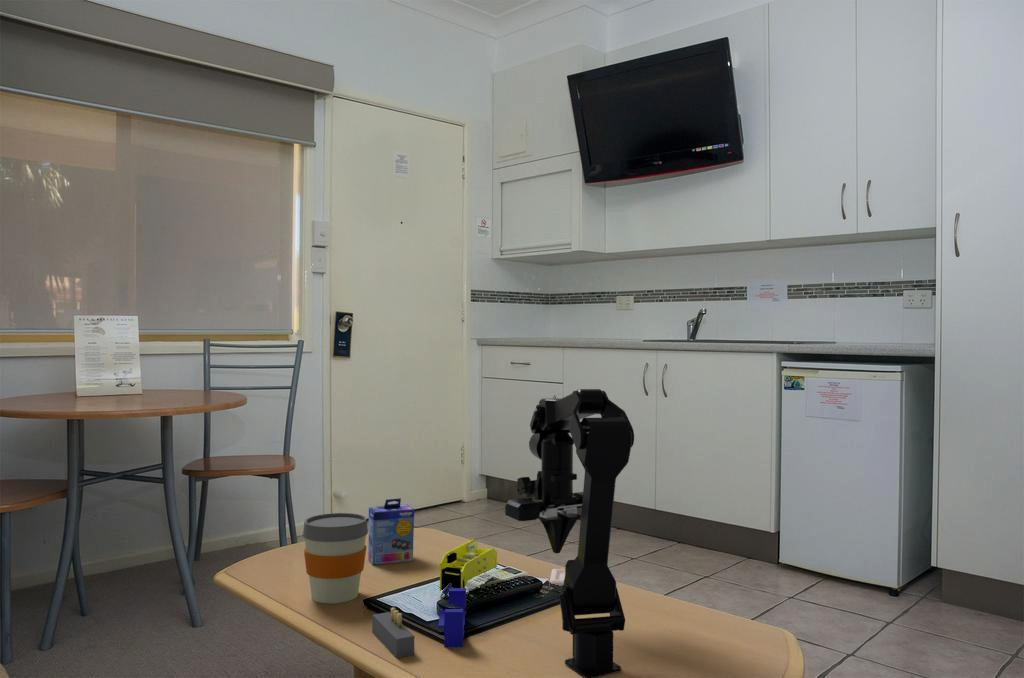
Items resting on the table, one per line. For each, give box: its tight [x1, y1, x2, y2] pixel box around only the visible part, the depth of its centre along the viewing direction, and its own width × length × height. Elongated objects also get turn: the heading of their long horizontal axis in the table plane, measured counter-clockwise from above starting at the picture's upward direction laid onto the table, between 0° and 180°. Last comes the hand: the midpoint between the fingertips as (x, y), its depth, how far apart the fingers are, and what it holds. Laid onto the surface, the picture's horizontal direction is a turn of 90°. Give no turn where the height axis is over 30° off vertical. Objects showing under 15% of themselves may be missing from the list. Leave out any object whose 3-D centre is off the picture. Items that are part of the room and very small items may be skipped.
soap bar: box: [549, 568, 565, 586], centre depth 155 cm, size 5×9×2 cm, turn 173°
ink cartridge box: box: [367, 497, 415, 566], centre depth 171 cm, size 10×6×14 cm, turn 115°
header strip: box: [371, 607, 415, 659], centre depth 123 cm, size 12×3×5 cm, turn 29°
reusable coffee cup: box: [302, 512, 369, 604], centre depth 146 cm, size 13×13×15 cm
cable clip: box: [437, 588, 467, 648], centre depth 128 cm, size 12×4×6 cm, turn 1°
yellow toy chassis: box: [439, 539, 498, 592], centre depth 152 cm, size 16×6×8 cm, turn 156°
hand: (556, 552), depth 135 cm, fingers closed
